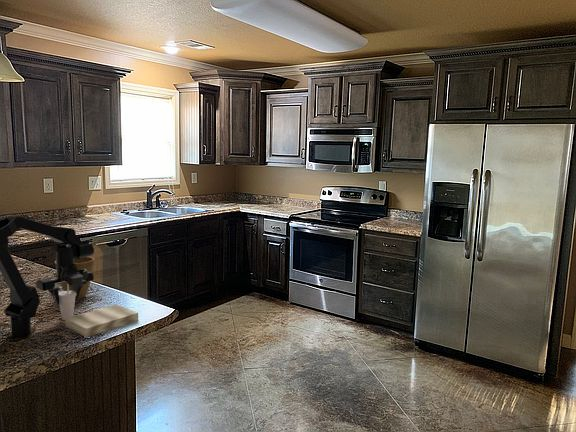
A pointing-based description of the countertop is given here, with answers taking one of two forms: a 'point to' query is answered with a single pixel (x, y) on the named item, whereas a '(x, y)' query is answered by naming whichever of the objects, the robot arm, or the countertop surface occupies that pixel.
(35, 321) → the countertop surface
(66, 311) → the smoothie
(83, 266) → the plant pot
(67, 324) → the plinth
